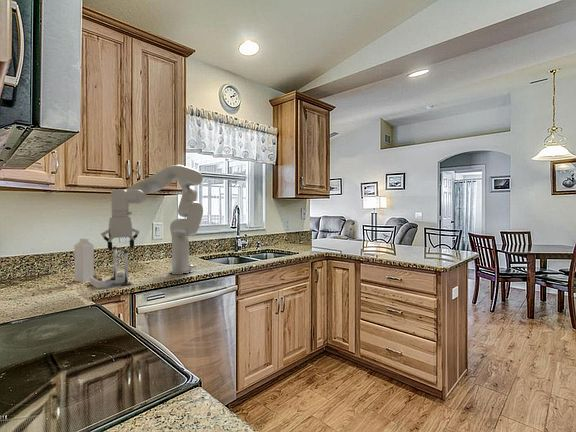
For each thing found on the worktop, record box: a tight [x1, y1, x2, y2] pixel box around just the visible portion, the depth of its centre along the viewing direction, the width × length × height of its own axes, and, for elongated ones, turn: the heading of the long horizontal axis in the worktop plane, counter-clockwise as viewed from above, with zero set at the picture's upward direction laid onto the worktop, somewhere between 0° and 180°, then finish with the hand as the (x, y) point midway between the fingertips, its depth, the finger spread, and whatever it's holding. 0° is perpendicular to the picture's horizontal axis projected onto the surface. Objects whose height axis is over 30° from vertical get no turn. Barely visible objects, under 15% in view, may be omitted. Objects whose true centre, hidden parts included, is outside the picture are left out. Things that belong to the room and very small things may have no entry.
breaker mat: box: [87, 274, 134, 291], centre depth 158 cm, size 15×21×5 cm
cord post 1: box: [110, 245, 118, 280], centre depth 167 cm, size 4×4×17 cm
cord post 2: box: [121, 249, 132, 287], centre depth 155 cm, size 4×4×17 cm
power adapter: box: [115, 269, 125, 284], centre depth 161 cm, size 11×5×6 cm, turn 24°
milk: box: [73, 238, 95, 283], centre depth 165 cm, size 6×6×22 cm
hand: (121, 249), depth 162 cm, fingers open, 9 cm apart
